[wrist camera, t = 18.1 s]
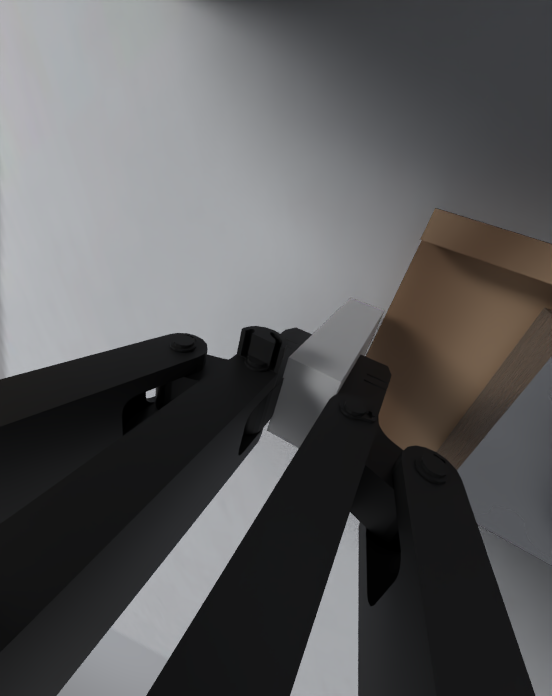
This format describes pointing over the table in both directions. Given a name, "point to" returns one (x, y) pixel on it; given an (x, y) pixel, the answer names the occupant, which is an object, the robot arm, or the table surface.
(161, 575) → the table surface
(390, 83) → the table surface
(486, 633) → the robot arm
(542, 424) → the grey stepped block
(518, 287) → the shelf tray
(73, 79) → the table surface
